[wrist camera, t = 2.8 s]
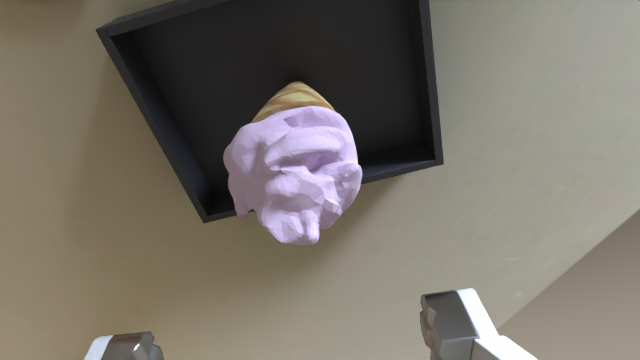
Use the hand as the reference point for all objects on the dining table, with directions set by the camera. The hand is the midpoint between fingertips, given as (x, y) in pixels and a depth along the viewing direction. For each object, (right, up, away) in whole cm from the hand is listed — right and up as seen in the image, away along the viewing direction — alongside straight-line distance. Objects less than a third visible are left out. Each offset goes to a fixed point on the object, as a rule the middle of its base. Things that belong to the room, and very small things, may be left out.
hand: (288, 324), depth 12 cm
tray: (-1, +11, +17) cm, 20 cm away
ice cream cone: (-1, +11, +17) cm, 20 cm away
